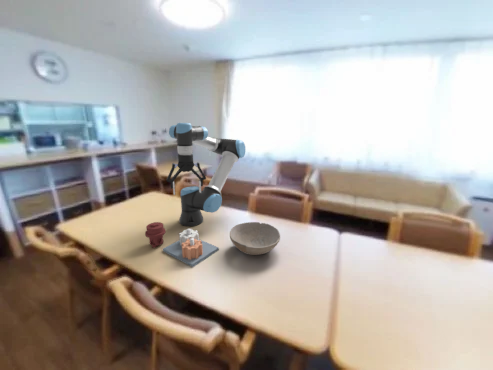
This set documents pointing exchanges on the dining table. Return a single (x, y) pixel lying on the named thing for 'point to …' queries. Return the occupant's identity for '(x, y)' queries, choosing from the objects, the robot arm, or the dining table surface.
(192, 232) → the white gear
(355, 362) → the dining table surface
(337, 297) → the dining table surface
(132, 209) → the dining table surface
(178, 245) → the gear board
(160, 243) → the mechanical component
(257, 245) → the bowl
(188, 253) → the terracotta gear
